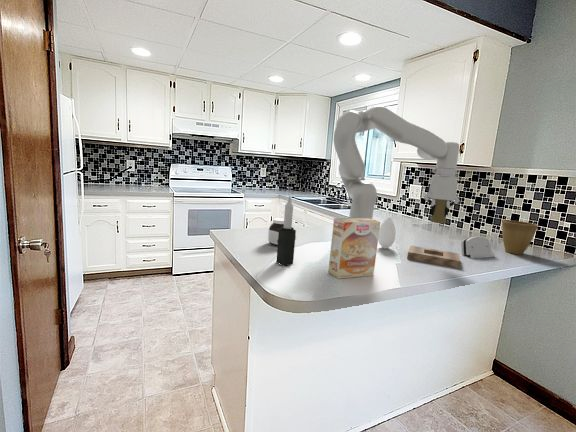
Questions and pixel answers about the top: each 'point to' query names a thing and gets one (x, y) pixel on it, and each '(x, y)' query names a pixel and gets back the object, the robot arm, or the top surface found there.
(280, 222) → the spread jar
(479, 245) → the grey piece
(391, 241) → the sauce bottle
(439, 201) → the cork
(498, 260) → the top surface
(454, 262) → the tan flat frame
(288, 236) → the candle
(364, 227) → the coffeecake box
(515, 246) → the plant pot
